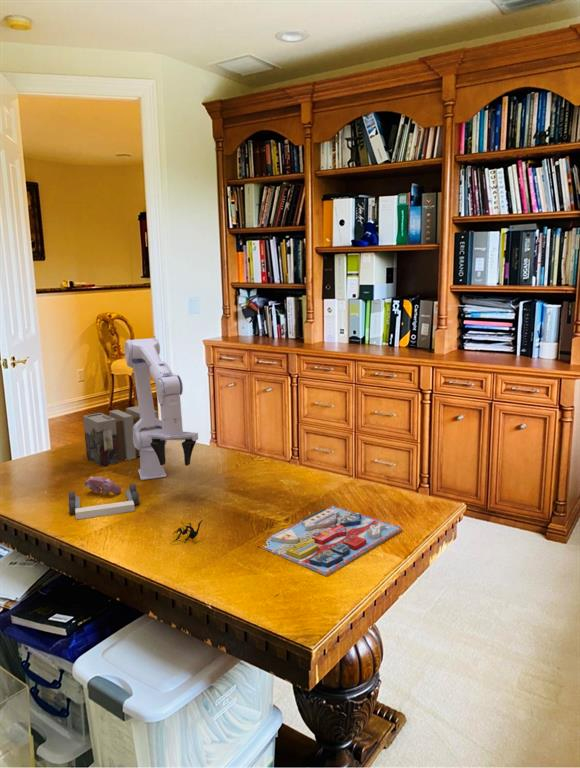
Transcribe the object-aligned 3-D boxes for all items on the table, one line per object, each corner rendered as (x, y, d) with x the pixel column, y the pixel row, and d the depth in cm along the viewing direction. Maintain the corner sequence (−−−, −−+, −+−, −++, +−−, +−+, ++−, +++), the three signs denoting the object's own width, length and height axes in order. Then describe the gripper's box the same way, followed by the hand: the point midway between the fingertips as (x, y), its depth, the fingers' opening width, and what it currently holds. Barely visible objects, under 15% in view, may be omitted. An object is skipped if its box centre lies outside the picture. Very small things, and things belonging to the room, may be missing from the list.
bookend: (165, 453, 220) (163, 409, 216) (98, 469, 204) (95, 422, 201) (145, 444, 231) (142, 402, 228) (80, 458, 216) (76, 413, 212)
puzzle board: (332, 509, 170) (332, 500, 170) (403, 533, 155) (403, 523, 154) (253, 547, 148) (252, 537, 148) (326, 580, 133) (326, 568, 132)
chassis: (69, 502, 176) (68, 490, 175) (135, 493, 182) (134, 481, 182) (69, 520, 164) (68, 508, 163) (140, 510, 170) (139, 498, 169)
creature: (164, 546, 151) (187, 547, 146) (159, 525, 150) (183, 525, 146) (185, 534, 157) (208, 534, 153) (181, 514, 157) (204, 514, 152)
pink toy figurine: (88, 497, 184) (79, 481, 180) (96, 486, 187) (88, 470, 183) (115, 501, 180) (107, 485, 176) (123, 490, 184) (115, 473, 179)
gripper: (141, 421, 172) (145, 468, 174) (190, 421, 168) (193, 468, 170) (152, 416, 178) (156, 461, 180) (199, 416, 175) (202, 462, 177)
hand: (175, 464), depth 176 cm, fingers open, 7 cm apart
